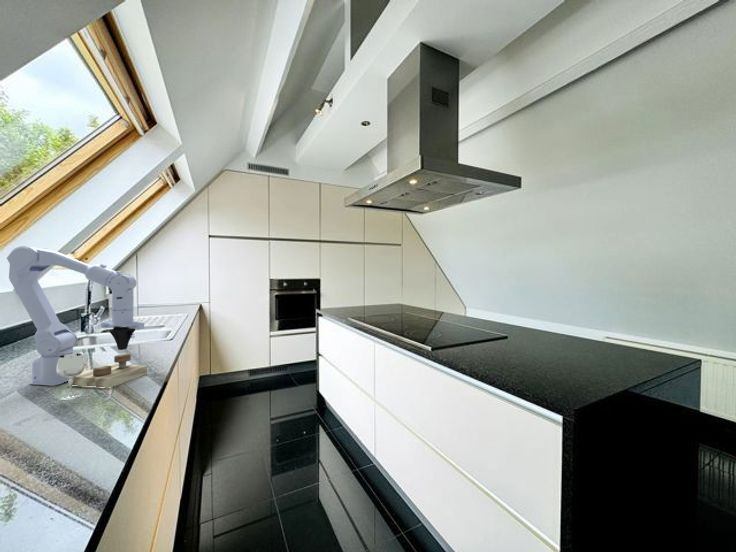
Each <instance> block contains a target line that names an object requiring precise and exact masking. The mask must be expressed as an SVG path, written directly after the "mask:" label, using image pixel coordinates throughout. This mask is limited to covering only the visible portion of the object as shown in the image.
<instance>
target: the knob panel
mask: <svg viewBox="0 0 736 552" xmlns="http://www.w3.org/2000/svg"><path fill="white" fill-rule="evenodd" d="M107 365H108V366H111V373H109V374H106V375H104V376H94V375H93V369H94V368H91V369H90V370H86V371H83V372H82V373H81V374H80V375H78V376H76V377H73V378H72V379H73V383H72V385H78V386H96V387H105V388H109V387H112V386H114V387H116V385H117V386H119V385H122V384H124V382H125V383H126V381H127V382H129V380H130V381H132V380H135V379H137V378H141V377H142V376H145V375H147V374H148V369H147V368H148V365H146V364H145V365H144V364H142V365H141V364H128V363H126V368H125V369H119V363H110V364H107ZM121 383H122V384H121ZM118 384H119V385H118ZM112 388H113V387H112ZM109 389H110V388H109Z"/></svg>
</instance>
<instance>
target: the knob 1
mask: <svg viewBox="0 0 736 552" xmlns="http://www.w3.org/2000/svg"><path fill="white" fill-rule="evenodd" d="M108 365H109V364H105V365H100V366H96V367H93V368H92V369H93V375H94V376H104V375H106V374H109V373H111V366H108Z"/></svg>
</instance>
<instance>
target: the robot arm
mask: <svg viewBox="0 0 736 552" xmlns="http://www.w3.org/2000/svg"><path fill="white" fill-rule="evenodd" d="M6 260H7V262H8V264H9V269H8V270H9V273H8V279H9V282H10V283H11V285H12V287H13V289H14V291H15V292H16V294H17V296H18V298H19V300H20V301H21V304H22V305H23V306H24V309H25V310H26V313H27V314H28V316H29V317H30V320H31V322H32V323H33V324H34V326H35V328H36V332H35V334H34V335H33V338H34V340H35V350H36V352H37V353H38V354H39V355H38V356H36V357H35V358H34V359H33V362H32V365H31V367H32V368H31V370H32V371H31V374H32V375H31V376H32V378H31V381H30V382H28V385H35V386H36V385H37V386H51V387H53V386H59V385H61V384H65V383H68V382H67V381H69V378H62V377H60V376H58V374H57V371H56V367H57V363H58V359H59V357H60V356H63V355H67V354H74V348H75V346H77V343H78V341H79V338H78V336H77V335H76V333H75V332H72V331H71V330H70V328H69V326H67V324H66V325H65V324H64V323H62V322H61V321H60V319H59V317H58V316H57V314H56V312H55V311H54V309H53V307H52V305H51V303H50V301H49V299H48V298H47V296H46V293H45V292H44V290H43V288H42V286H41V285H40V283H39V280H38V278H39V276H40V275H41V274H42V273H44V271H46V270H47V269H48V268H50V267H51V266H59V267H62V268H65V269H68V270H71V271H75V272H78V273H80V274H84V276H85V278H86V280H89V281H91V282H94V283H97V284H99V285H100V286H101V285H102V286H104V287H107V288H109V289H110V290H111V291H112V292H111V293H112V294H111V295H112V296H111V321H110V320H109V321H107V320H106V321H102V322H101V329H105V328H108V329H109V328H110V330H109V333H110V334H111V335H112V337H113V339H114V341H115V344H116V347H117V350H119V351H123V350H127V349H128V346H129V342H130V341H131V338H132V336H133V334H134V333H135V331H136V330H142V329H145V322H138V321H134V289H135V288H136V286H137V281H136V278H135V277H134V276H133V275H131V274H127V273H126V274H122V271H120V270H117V271H116V270H114V269H111V268H109V267H107V264H103V263H102V264H101V263H100V264H99V263H98V264H97V263H96V264H92V265H90V264H88V263H86V262H83V261H81V260H78V259H76V258H74V257H72V256H69V255H66V254H64V253H61V252H60V251H59V252H58V251H56V250H51V249H48V248H42V247H41V248H39V247H31V246H23V245H21V246H17V247H15V248H13V250H12V251H11V252H10V253H9V254H8V255H7V256H6ZM111 328H112V329H111ZM64 382H65V383H64Z"/></svg>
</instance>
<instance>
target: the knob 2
mask: <svg viewBox="0 0 736 552" xmlns="http://www.w3.org/2000/svg"><path fill="white" fill-rule="evenodd" d="M113 358H114V359H113V361H114V363H115V364H119V369H125V368H126V364H127V362H129V361H131V360H132V355H131V353H118V354H116V355H114V356H113Z"/></svg>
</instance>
